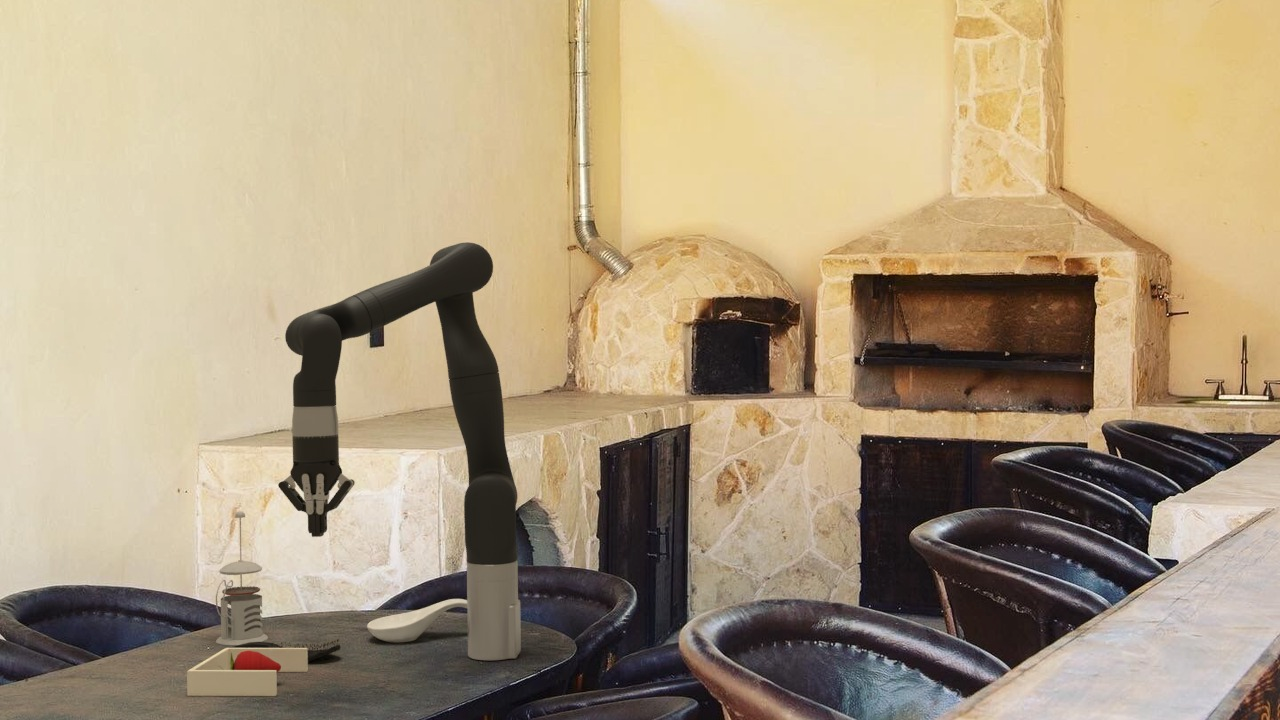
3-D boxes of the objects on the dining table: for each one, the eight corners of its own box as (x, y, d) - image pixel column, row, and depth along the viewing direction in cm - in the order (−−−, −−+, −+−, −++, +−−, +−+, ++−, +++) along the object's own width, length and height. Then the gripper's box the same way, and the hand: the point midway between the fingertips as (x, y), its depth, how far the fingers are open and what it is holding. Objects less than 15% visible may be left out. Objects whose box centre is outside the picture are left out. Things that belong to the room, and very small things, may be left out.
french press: (278, 635, 257) (276, 509, 256) (242, 648, 246) (240, 516, 246) (236, 632, 260) (234, 507, 260) (198, 645, 249) (196, 514, 249)
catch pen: (307, 670, 228) (307, 647, 228) (275, 696, 211) (274, 671, 211) (226, 670, 229) (226, 647, 229) (187, 695, 212) (187, 671, 212)
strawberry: (281, 646, 223) (220, 650, 220) (280, 650, 216) (217, 654, 213) (281, 681, 222) (220, 685, 220) (280, 687, 215) (217, 691, 213)
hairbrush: (241, 632, 248) (350, 635, 238) (242, 652, 248) (351, 655, 238) (211, 642, 241) (322, 645, 231) (212, 662, 241) (323, 666, 231)
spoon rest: (367, 648, 245) (367, 610, 245) (366, 635, 257) (365, 599, 257) (493, 640, 251) (492, 603, 251) (486, 628, 262) (485, 592, 262)
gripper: (360, 431, 222) (362, 532, 222) (284, 432, 223) (286, 533, 223) (347, 434, 215) (350, 539, 215) (269, 435, 215) (271, 539, 216)
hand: (317, 536), depth 219 cm, fingers closed
